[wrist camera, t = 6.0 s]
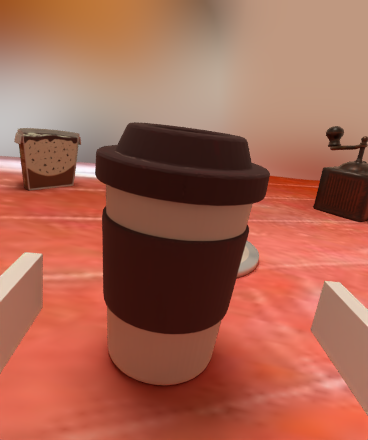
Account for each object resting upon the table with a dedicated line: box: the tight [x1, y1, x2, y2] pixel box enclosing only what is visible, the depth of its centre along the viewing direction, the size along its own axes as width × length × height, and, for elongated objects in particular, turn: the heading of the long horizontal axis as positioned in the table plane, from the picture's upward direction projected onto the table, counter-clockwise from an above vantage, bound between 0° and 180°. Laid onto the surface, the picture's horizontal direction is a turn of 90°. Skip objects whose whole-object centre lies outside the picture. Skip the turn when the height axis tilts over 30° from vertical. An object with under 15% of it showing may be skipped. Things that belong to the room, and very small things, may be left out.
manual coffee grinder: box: [313, 126, 368, 222], centre depth 73 cm, size 16×11×18 cm
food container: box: [15, 128, 81, 190], centre depth 62 cm, size 12×6×10 cm, turn 145°
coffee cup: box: [95, 123, 270, 385], centre depth 21 cm, size 10×10×15 cm
